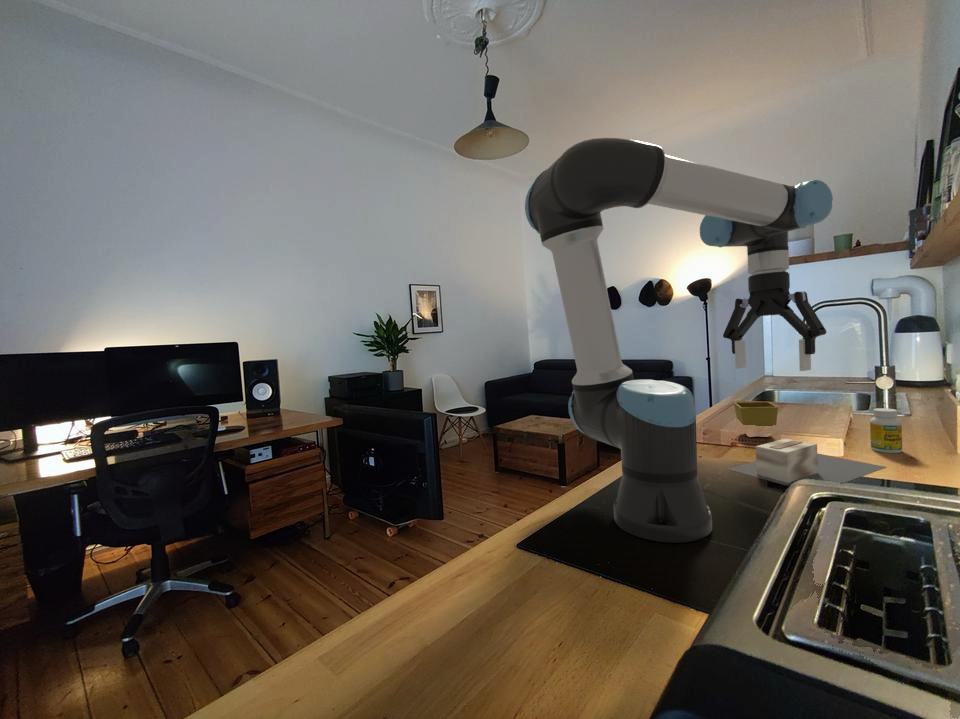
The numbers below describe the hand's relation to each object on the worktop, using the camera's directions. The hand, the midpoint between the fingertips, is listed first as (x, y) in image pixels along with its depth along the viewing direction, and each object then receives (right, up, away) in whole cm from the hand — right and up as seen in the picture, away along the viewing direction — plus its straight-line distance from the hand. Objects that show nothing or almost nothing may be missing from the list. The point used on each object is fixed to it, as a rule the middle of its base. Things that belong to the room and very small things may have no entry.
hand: (770, 369), depth 94 cm
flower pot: (+12, -20, +24) cm, 33 cm away
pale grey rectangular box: (-1, -22, -7) cm, 23 cm away
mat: (+4, -21, -4) cm, 22 cm away
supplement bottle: (+30, -19, +4) cm, 36 cm away
